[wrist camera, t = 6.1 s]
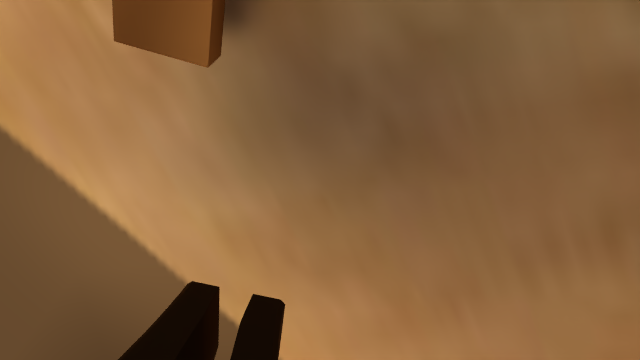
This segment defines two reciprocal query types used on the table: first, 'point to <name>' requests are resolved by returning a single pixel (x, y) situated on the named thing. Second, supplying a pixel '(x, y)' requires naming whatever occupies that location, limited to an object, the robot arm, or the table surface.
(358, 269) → the table surface
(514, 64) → the table surface
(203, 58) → the catapult lever
